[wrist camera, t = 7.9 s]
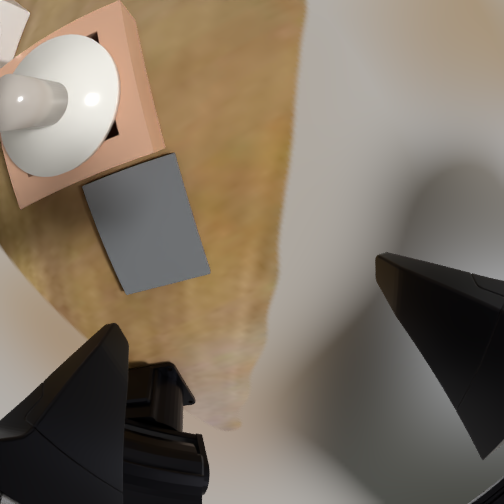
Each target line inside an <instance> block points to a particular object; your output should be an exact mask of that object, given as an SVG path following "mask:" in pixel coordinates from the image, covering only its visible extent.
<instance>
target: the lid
mask: <svg viewBox="0 0 504 504" xmlns="http://www.w3.org/2000/svg"><path fill="white" fill-rule="evenodd" d="M120 95H121V83H120V76H119V72H118V68H117V65H116V63H115V61H114V59H113V57H112V56H111V54H110V53H109V52H108V51H107V50H106V49H105V48H104V47H103V46H102V45H100V44H99V43H97V42H96V41H94V40H93V39H91V38H88V37H86V36H82V35H75V34H69V35H62V36H58V37H55V38H52V39H50V40H47V41H46V42H44V43H42V44H40V45H39V46H38V47H36V48H35V49H33V50H32V51H31V52H30V53H29V54H28V55H27V56H26V57H25V58H24V59H23V60H22V61H21V62H20V64H19V65H18V66H17V68H16V69H15V71H14V72H13V74H6V75H4V76H2V77H1V78H0V133H1V138H2V142H3V145H4V147H5V150H6V152H7V154H8V155H9V157H10V158H11V160H12V161H13V162H14V163H15V164H16V165H17V166H18V167H19V168H20V169H22V170H23V171H24V172H26V173H29V174H31V175H34V176H39V177H52V176H57V175H60V174H63V173H65V172H68V171H71V170H73V169H75V168H77V167H79V166H80V165H82V164H83V163H84V162H86V161H87V160H88V159H89V158H90V157H92V156H93V155H94V154H95V152H96V151H97V150H98V149H99V148H100V147H101V145H102V144H103V142H104V141H105V140H106V138H107V136H108V134H109V132H110V131H111V128H112V126H113V124H114V122H115V119H116V115H117V112H118V108H119V103H120Z"/></svg>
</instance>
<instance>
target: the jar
mask: <svg viewBox="0 0 504 504" xmlns="http://www.w3.org/2000/svg"><path fill="white" fill-rule="evenodd" d="M29 16H30V12H29V11H27V10H26V9H25V8H23V7H22V6H21V5H20V4H18V3H17V2H16V1H15V0H0V69H1V68H2V67H3V66H5V65H6V64H7V63H8V62H10V61H11V60H12V59H14V55H15V52H16V49H17V46H18V44H19V41H20V38H21V35H22V33H23V30H24V28H25V25H26V23H27V20H28V18H29Z"/></svg>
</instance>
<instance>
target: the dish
mask: <svg viewBox="0 0 504 504" xmlns="http://www.w3.org/2000/svg"><path fill="white" fill-rule="evenodd" d="M69 34H75V35H82V36H86V37H88V38H91V39H93V40H94V41H96V42H97V43H99V44H100V45H102V46H103V47H104V48H105V49H106V50H107V51H108V52H109V53H110V54H111V56H112V57H113V59H114V61H115V63H116V65H117V68H118V72H119V76H120V83H121V95H120V103H119V108H118V112H117V115H116V119H115V122H114V124H113V126H112V128H111V131H110V132H109V134H108V136H107V138H106V140H105V141H104V142H103V144H102V145H101V147H100V148H99V149H98V150H97V151H96V152H95V154H94V155H93V156H92V157H90V158H89V159H88V160H87V161H86V162H84V163H83V164H82V165H80V166H79V167H77V168H75V169H73V170H71V171H68V172H65V173H63V174H60V175H57V176H52V177H39V176H34V175H31V174H29V173H26V172H24V171H23V170H22V169H20V168H19V167H18V166H17V165H16V164H15V163H14V162H13V161H12V160H11V158H10V157H9V155H8V154H7V152H6V150H5V147H4V145H3V142H2V138H1V133H0V140H1V144H2V149H3V153H4V157H5V161H6V165H7V169H8V172H9V176H10V179H11V183H12V186H13V189H14V192H15V195H16V198H17V201H18V204H19V207H20V210H21V209H22V208H24V207H26V206H28V205H30V204H32V203H34V202H36V201H38V200H40V199H42V198H44V197H46V196H48V195H50V194H52V193H54V192H56V191H58V190H61V189H63V188H65V187H67V186H69V185H72V184H74V183H76V182H78V181H81V180H83V179H85V178H88V177H90V176H93V175H95V174H97V173H100V172H102V171H105V170H107V169H110V168H113V167H115V166H118V165H120V164H123V163H126V162H129V161H131V160H134V159H137V158H140V157H143V156H146V155H149V154H152V153H154V152H157V151H159V150H162V149H164V148H166V147H165V143H164V140H163V136H162V132H161V128H160V125H159V121H158V117H157V113H156V109H155V105H154V101H153V97H152V93H151V89H150V85H149V80H148V76H147V72H146V67H145V63H144V58H143V54H142V49H141V44H140V40H139V35H138V30H137V25H136V20H135V19H134V18H133V16H132V15H131V14H130V13H129V11H128V10H127V9H126V7H125V6H124V5H123V3H122V2H121V1H120V0H119V1H116V2H114V3H111V4H109V5H107V6H104V7H102V8H100V9H97V10H95V11H93V12H91V13H89V14H87V15H85V16H83V17H81V18H79V19H77V20H75V21H73V22H71V23H69V24H67V25H65V26H64V27H62V28H60V29H58V30H57V31H55V32H53V33H51V34H50V35H48V36H46V37H45V38H43V39H42V40H40V41H38V42H37V43H35V44H34V45H32V46H31V47H29V48H28V49H26V50H25V51H23V52H22V53H21V54H19V55H18V56H16V57H15V58H14V59H12V60H11V61H10V62H8V63H7V64H6V65H5V66H3V67H2V68H1V69H0V78H1V77H2V76H4V75H6V74H13V72H14V71H15V69H16V68H17V66H18V65H19V64H20V62H21V61H22V60H23V59H24V58H25V57H26V56H27V55H28V54H29V53H30V52H31V51H32V50H33V49H35V48H36V47H38V46H39V45H40V44H42V43H44V42H46V41H47V40H50V39H52V38H55V37H58V36H62V35H69Z"/></svg>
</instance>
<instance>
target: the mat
mask: <svg viewBox="0 0 504 504" xmlns="http://www.w3.org/2000/svg"><path fill="white" fill-rule="evenodd" d="M82 188H83V191H84V194H85V197H86V200H87V202H88V205H89V208H90V211H91V213H92V216H93V219H94V222H95V224H96V227H97V229H98V232H99V234H100V237H101V239H102V242H103V244H104V247H105V249H106V251H107V254H108V256H109V258H110V261H111V263H112V265H113V267H114V270H115V272H116V274H117V276H118V278H119V281H120V283H121V285H122V287H123V289H124V291H125V293H126V295H128V294H132V293H136V292H140V291H144V290H148V289H152V288H156V287H160V286H164V285H168V284H172V283H176V282H180V281H184V280H187V279H191V278H195V277H199V276H203V275H207V274H210V267H209V264H208V261H207V258H206V255H205V252H204V249H203V246H202V243H201V239H200V236H199V233H198V230H197V227H196V223H195V220H194V217H193V214H192V210H191V207H190V204H189V200H188V197H187V194H186V190H185V187H184V183H183V180H182V176H181V173H180V169H179V166H178V162H177V159H176V155H175V153H172V154H168V155H165V156H162V157H159V158H156V159H153V160H150V161H147V162H144V163H141V164H138V165H135V166H132V167H130V168H127V169H124V170H121V171H119V172H116V173H113V174H111V175H108V176H106V177H103V178H101V179H98V180H96V181H93V182H91V183H88V184H86V185H84V186H82Z"/></svg>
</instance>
